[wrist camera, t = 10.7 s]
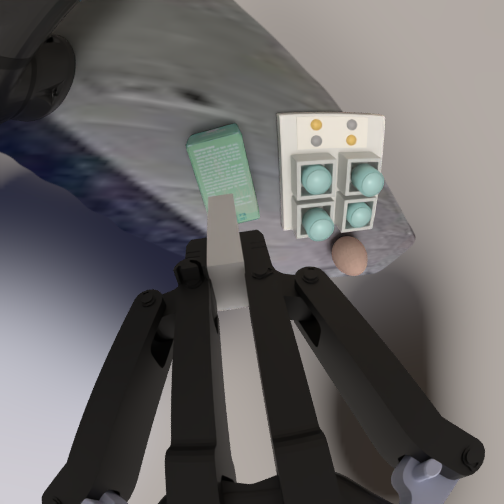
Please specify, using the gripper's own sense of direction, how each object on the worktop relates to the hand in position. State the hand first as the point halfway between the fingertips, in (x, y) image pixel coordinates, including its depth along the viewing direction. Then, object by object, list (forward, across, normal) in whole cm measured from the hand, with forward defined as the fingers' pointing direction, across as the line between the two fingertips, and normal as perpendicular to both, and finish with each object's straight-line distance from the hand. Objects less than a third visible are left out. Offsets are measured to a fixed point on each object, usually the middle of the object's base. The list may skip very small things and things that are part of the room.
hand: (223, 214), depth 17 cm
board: (+26, +18, -8) cm, 33 cm away
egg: (+27, +21, -24) cm, 42 cm away
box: (+27, 0, -6) cm, 27 cm away
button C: (+21, +21, -7) cm, 31 cm away
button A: (+23, +14, -7) cm, 28 cm away
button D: (+23, +22, -15) cm, 35 cm away
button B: (+21, +14, -14) cm, 29 cm away
